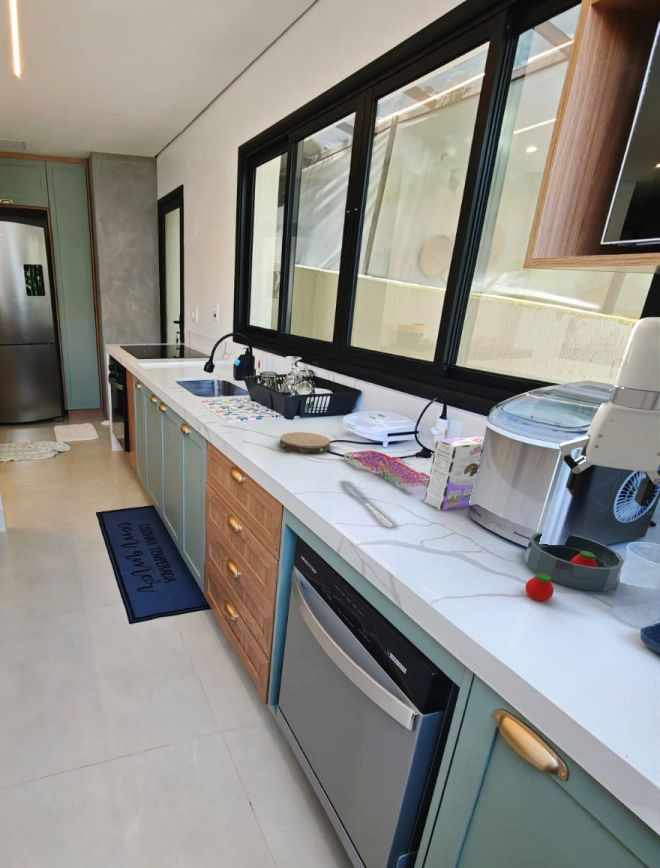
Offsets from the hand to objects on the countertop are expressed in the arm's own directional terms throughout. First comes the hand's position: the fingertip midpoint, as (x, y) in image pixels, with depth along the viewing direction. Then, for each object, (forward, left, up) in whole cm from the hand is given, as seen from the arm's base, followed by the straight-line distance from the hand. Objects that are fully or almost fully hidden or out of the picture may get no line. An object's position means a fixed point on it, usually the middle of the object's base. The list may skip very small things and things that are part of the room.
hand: (605, 498), depth 86 cm
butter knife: (+40, -18, -16) cm, 47 cm away
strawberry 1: (+8, +11, -16) cm, 21 cm away
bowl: (+1, -2, -16) cm, 16 cm away
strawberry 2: (0, 0, -16) cm, 16 cm away
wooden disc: (+64, -57, -16) cm, 87 cm away
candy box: (+20, -28, -16) cm, 38 cm away
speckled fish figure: (+36, -42, -16) cm, 58 cm away
